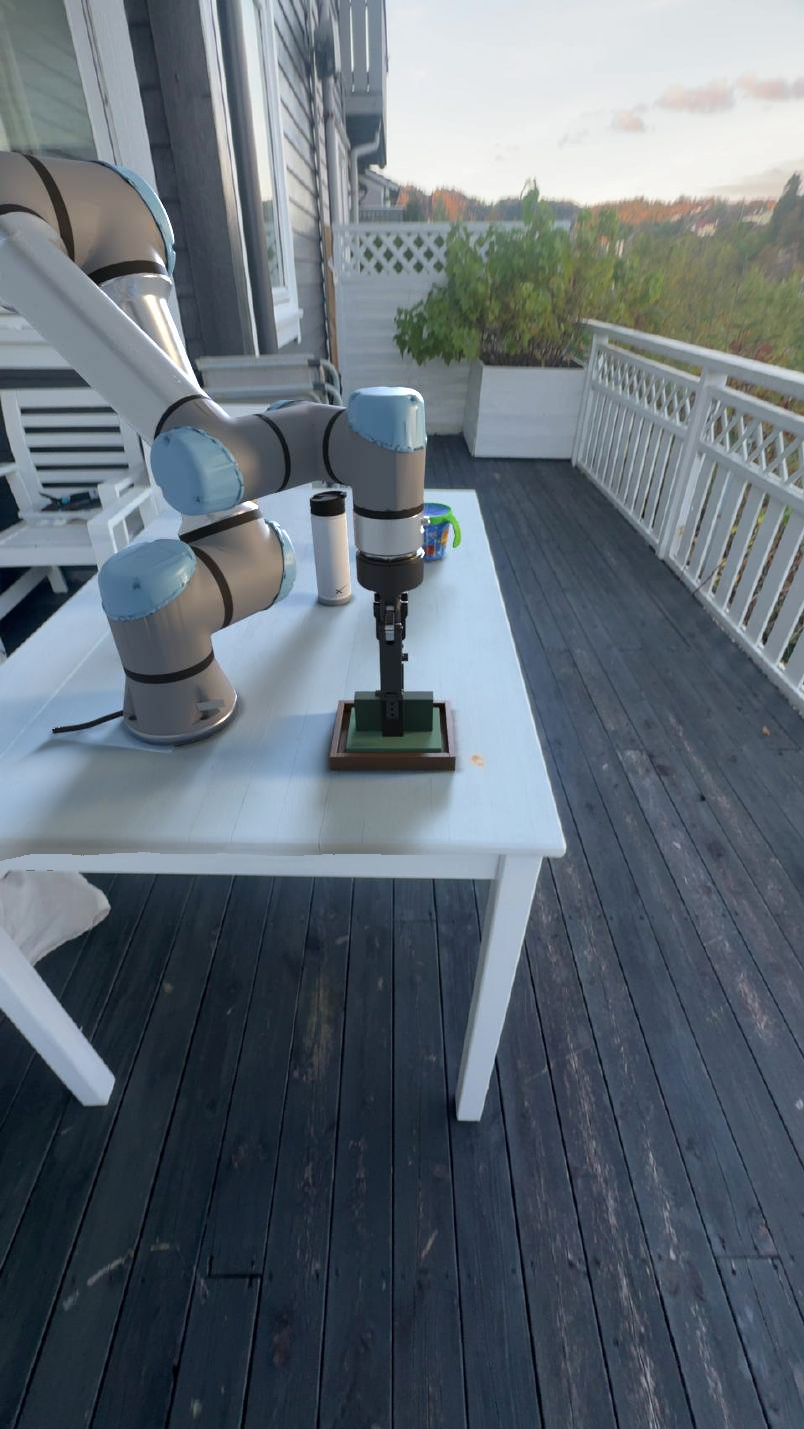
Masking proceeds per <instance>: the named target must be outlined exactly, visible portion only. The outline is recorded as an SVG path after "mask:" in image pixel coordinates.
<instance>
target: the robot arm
mask: <svg viewBox="0 0 804 1429" xmlns="http://www.w3.org/2000/svg"><path fill="white" fill-rule="evenodd" d="M173 245H175V237H174V232H173V228H172V225H171V222H170V220H169V216H168V214H167V212H166V209H165V208H164V206H163V204H162V202H161V199H160V198H159V196H158V195H157V194H156V192H155V191H154V189H153V188H152V187H151V186H150V184H149V183H148V182H147V181H146V180H145V179H144V178H143V177H142V176H141V175H139V174H138V173H136V172H134V171H133V170H132V169H129V168H128V167H125V166H120V165H114V164H110V163H109V162H107V161H104V160H99V159H87V160H76V159H75V160H74V159H68V158H62V157H61V158H59V157H52V156H43V155H35V154H27V153H19V152H16V151H15V152H14V151H5V150H0V307H1V308H2V309H4V310H7V311H8V312H11V313H15V314H19V315H20V316H21V317H23V319H24V320H25V321H26V322H27V323H28V324H29V325H30V326H31V327H32V328H33V329H34V330H35V331H36V332H37V333H38V334H39V336H41V337H42V338H43V339H44V340H45V341H46V342H47V343H48V344H49V345H50V346H51V347H52V348H53V350H55V351H56V352H57V353H58V354H59V355H60V357H61V358H63V360H64V361H65V362H66V363H68V365H69V366H70V367H71V368H72V369H73V370H74V371H75V372H76V373H77V374H78V375H80V377H81V378H82V379H83V380H84V381H85V382H86V383H87V384H88V385H89V386H90V387H91V388H92V389H93V390H94V391H95V392H96V393H97V395H99V396H100V397H101V398H102V399H103V400H104V401H105V403H106V404H108V406H110V407H111V409H113V411H115V413H116V414H117V415H118V416H119V417H120V418H121V419H122V420H123V421H124V422H125V424H127V425H128V426H129V427H130V428H131V429H132V430H133V431H134V432H135V434H137V435H138V436H139V437H140V438H141V439H142V440H143V441H144V442H145V443H146V445H148V446H149V447H150V452H149V464H150V470H151V473H152V476H153V480H154V483H155V484H156V486H157V487H159V488H160V490H161V492H162V497H163V499H164V500H165V502H166V503H167V504H168V505H169V506H170V507H171V508H173V509H174V510H175V511H176V512H178V513H180V515H181V518H182V519H181V524H180V526H179V529H178V532H177V537H178V539H174V538H158V539H155V540H152V541H150V542H149V541H143V542H139V543H135V544H133V545H130V546H127V547H126V548H123V549H121V550H120V551H118V552H116V553H114V554H113V555H112V556H110V557H109V558H108V559H107V560H106V561H105V562H104V563H103V565H102V566H101V568H100V571H99V572H98V575H97V585H98V589H99V594H100V599H101V607H102V610H103V613H104V614H105V616H106V620H107V622H108V625H109V629H110V632H111V635H112V637H113V640H114V644H115V647H116V650H117V653H118V656H119V660H120V663H121V666H122V669H123V671H124V672H123V673H124V676H125V681H124V694H123V704H122V705H123V707H122V709H121V710H118V711H115V712H112V713H109V714H106V715H103V716H101V717H98V718H96V719H93V720H90V721H88V722H87V721H86V722H82V723H78V724H71V725H64V726H56V727H54V728H55V729H51V732H52V734H53V735H55V734H62V733H64V734H65V733H71V732H72V733H73V732H77V731H84V730H88V729H90V728H95V727H97V726H99V725H101V724H105V723H107V722H109V721H113V720H115V719H119V718H121V717H123V721H124V724H125V727H126V730H127V732H128V734H130V736H131V737H133V738H134V739H136V740H137V741H140V742H142V743H145V744H148V745H153V746H161V747H162V746H163V747H166V746H167V747H168V746H169V747H171V746H179V745H180V746H181V745H186V744H190V743H195V742H197V741H201V740H203V739H206V738H208V737H211V736H213V735H215V734H217V733H218V732H220V731H222V730H223V729H224V728H225V727H227V726H228V725H229V724H230V723H231V722H232V721H233V719H234V718H235V717H236V714H237V712H238V709H239V702H238V701H239V700H238V697H237V692H236V689H235V688H234V686H233V684H232V682H231V681H230V679H229V677H228V676H227V675H226V673H225V671H224V670H223V668H222V667H221V665H220V663H219V662H218V660H217V658H216V656H215V652H214V647H213V646H214V645H213V641H212V635H214V634H215V633H217V632H219V631H221V630H223V629H225V628H228V627H230V626H232V625H234V624H236V623H238V622H241V621H243V620H245V619H247V618H249V617H251V616H253V615H255V614H258V613H259V612H264V611H268V610H269V609H271V608H273V607H274V605H276V604H278V603H280V602H281V601H283V600H285V599H286V598H287V597H288V596H289V595H290V593H291V592H292V590H293V589H294V583H295V582H296V580H297V574H298V563H297V556H296V552H295V551H296V550H295V548H294V545H293V543H292V540H291V539H290V537H289V535H288V534H287V532H286V531H285V529H281V525H280V524H278V523H277V522H276V521H274V520H270V519H266V518H264V516H263V514H262V511H261V509H260V507H259V504H258V505H256V504H254V503H252V502H250V501H252V500H255V499H257V500H258V499H261V498H263V497H267V496H270V495H273V494H278V493H282V492H285V491H288V490H290V489H291V490H292V489H294V488H297V487H300V486H303V485H307V484H310V483H313V482H327V483H331V484H336V485H340V486H346V487H351V495H352V522H353V541H354V542H353V543H354V547H355V548H356V549H357V550H356V552H355V568H356V581H357V582H358V585H360V587H361V588H362V589H364V590H367V591H369V592H373V603H372V609H373V618H374V619H375V638H376V640H377V641H378V652H379V682H380V684H379V686H380V689H376V690H374V691H375V697H380V700H381V718H382V737H404V719H403V691H405V670H404V669H405V668H404V666H405V664H404V662H409V652H405V653H404V652H403V649H404V643H403V641H405V640H406V636H407V617H408V616H409V592H411V591H412V590H415V589H417V588H418V587H420V586H421V585H422V583H423V581H424V579H425V560H424V551H423V550H422V548H421V547H422V546H423V544H424V529H423V527H426V526H429V525H430V520H429V517H423V515H424V503H425V498H424V497H425V470H426V451H427V450H426V449H427V443H428V436H427V433H426V419H425V418H426V416H425V412H426V411H425V402H424V398H423V397H422V395H421V394H420V393H419V392H418V391H416V390H414V389H413V388H408V387H402V386H401V387H400V386H393V387H391V386H390V387H389V386H372V387H371V386H369V387H362V388H357V389H355V390H353V391H352V392H350V394H349V396H348V398H347V407H346V406H345V407H344V406H338V405H332V404H326V403H319V402H314V401H309V400H308V399H301V398H298V399H295V400H292V399H291V400H290V399H281V400H277V401H275V402H273V403H271V404H270V405H269V407H267V409H266V410H265V411H263V412H258V413H252V414H248V415H241V416H237V417H233V416H230V415H228V413H227V412H226V411H224V409H223V408H222V407H221V406H220V405H219V404H218V403H216V402H215V401H214V400H213V399H212V398H211V397H210V396H209V395H208V394H207V393H206V392H205V391H204V390H203V389H202V388H201V387H200V384H199V382H198V379H197V378H196V374H195V373H194V370H193V367H192V365H191V362H190V360H189V357H188V355H187V352H186V350H185V347H184V345H183V343H182V339H181V337H180V335H179V332H178V330H177V327H176V324H175V323H174V322H175V321H174V320H173V317H172V315H171V312H170V310H169V307H168V301H169V298H170V296H171V293H172V290H173V284H172V281H171V277H172V275H173V272H174V270H175V264H176V252H175V250H174V249H173ZM58 727H60V728H58Z"/></svg>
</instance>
